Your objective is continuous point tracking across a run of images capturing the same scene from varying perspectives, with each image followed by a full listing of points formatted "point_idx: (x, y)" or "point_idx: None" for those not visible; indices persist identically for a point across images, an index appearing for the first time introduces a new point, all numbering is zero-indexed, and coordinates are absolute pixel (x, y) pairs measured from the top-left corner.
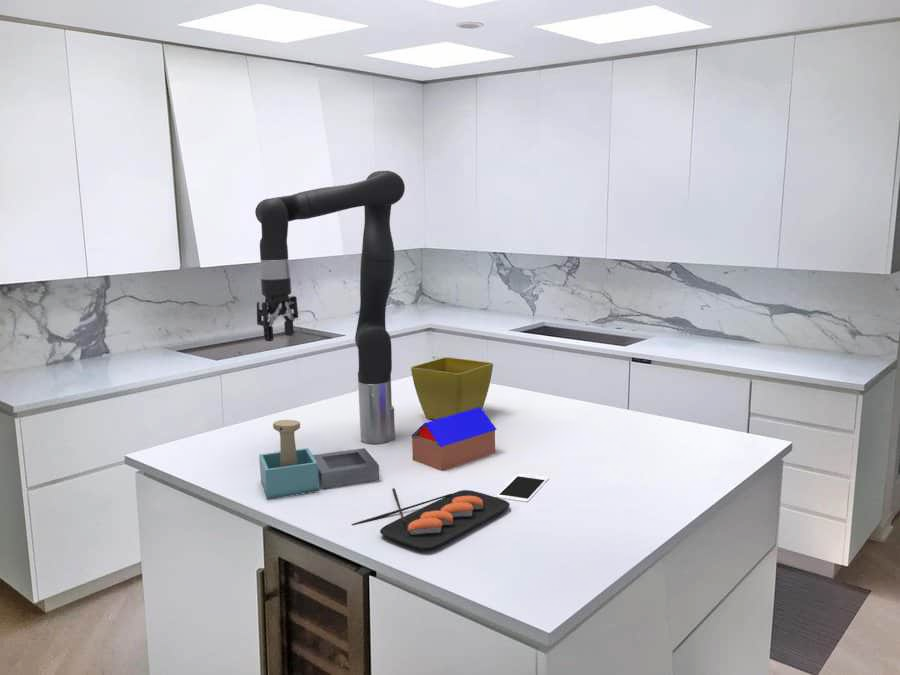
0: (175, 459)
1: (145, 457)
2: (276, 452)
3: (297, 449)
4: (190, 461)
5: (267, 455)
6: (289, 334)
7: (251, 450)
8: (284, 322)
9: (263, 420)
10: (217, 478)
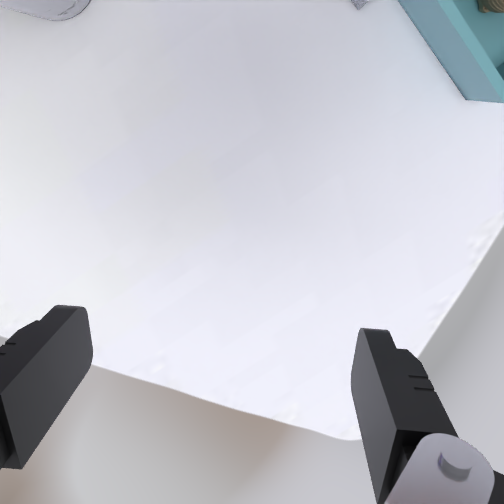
0: None
1: None
2: (477, 59)
3: (438, 3)
4: None
5: (499, 76)
6: (81, 329)
7: (263, 256)
8: (24, 461)
9: None
10: (455, 218)
